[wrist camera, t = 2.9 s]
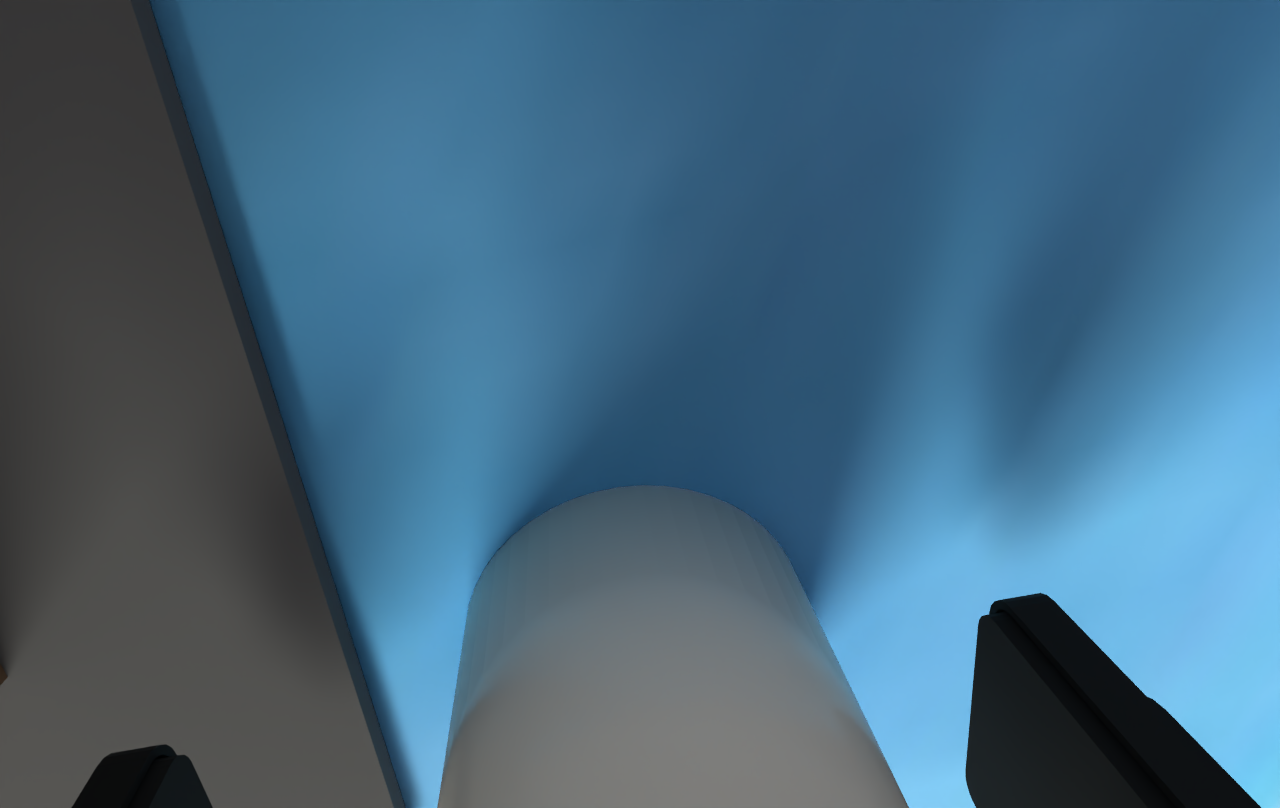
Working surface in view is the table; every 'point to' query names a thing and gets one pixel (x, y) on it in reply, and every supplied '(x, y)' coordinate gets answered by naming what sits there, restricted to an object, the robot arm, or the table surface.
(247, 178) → the table surface
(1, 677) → the block bottom
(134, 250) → the mat
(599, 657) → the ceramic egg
